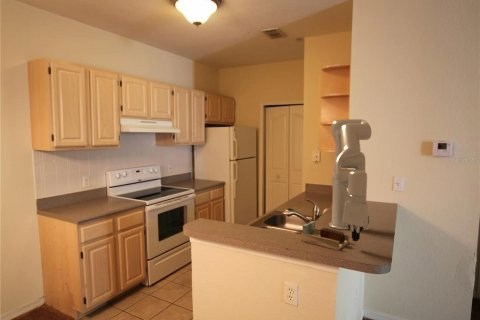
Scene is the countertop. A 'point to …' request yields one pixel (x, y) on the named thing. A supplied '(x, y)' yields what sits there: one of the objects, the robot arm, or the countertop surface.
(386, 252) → the countertop surface
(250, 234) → the countertop surface
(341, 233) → the brick
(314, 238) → the rail board
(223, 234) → the countertop surface
